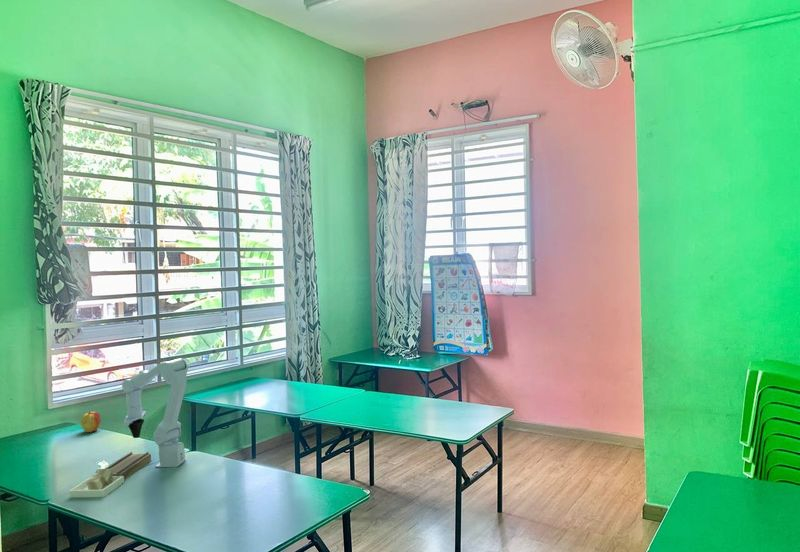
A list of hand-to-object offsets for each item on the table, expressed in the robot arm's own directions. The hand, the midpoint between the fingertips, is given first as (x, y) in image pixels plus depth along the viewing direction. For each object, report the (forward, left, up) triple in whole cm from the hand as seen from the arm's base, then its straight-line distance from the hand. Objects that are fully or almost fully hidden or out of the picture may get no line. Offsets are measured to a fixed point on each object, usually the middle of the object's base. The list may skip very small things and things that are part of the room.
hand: (136, 437), depth 243 cm
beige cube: (-2, +27, -8) cm, 28 cm away
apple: (+48, -40, -10) cm, 63 cm away
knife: (+12, +9, -10) cm, 18 cm away
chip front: (-2, +30, -6) cm, 31 cm away
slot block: (-2, +13, -9) cm, 16 cm away
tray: (-2, +31, -9) cm, 32 cm away
